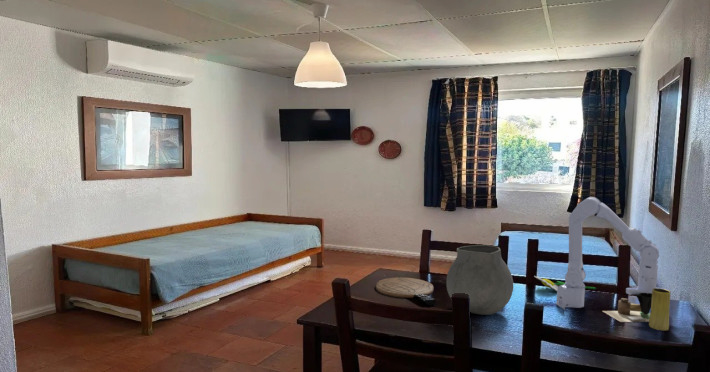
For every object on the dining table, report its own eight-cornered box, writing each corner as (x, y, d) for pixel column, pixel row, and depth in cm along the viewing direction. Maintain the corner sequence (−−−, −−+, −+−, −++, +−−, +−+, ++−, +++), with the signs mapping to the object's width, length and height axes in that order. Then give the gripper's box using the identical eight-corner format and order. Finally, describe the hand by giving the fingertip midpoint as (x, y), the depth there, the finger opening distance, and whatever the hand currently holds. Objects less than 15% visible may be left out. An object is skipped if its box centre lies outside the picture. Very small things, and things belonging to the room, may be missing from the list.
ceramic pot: (467, 297, 195) (470, 238, 193) (523, 312, 178) (526, 247, 175) (432, 310, 178) (435, 246, 176) (490, 329, 160) (493, 257, 158)
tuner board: (620, 325, 167) (620, 319, 166) (601, 314, 178) (602, 308, 177) (662, 324, 168) (663, 319, 168) (641, 313, 179) (642, 308, 179)
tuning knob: (619, 313, 174) (620, 300, 174) (616, 310, 178) (617, 297, 178) (648, 316, 172) (649, 302, 171) (644, 313, 175) (645, 299, 175)
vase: (644, 327, 165) (646, 287, 164) (660, 327, 166) (663, 287, 164) (656, 334, 159) (659, 293, 158) (673, 333, 159) (676, 293, 158)
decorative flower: (584, 289, 217) (526, 283, 211) (587, 279, 216) (528, 272, 211) (603, 299, 205) (542, 293, 199) (606, 289, 204) (544, 282, 198)
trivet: (402, 278, 222) (402, 274, 222) (445, 290, 204) (445, 286, 204) (364, 288, 205) (364, 284, 205) (407, 303, 187) (407, 298, 187)
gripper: (636, 280, 166) (633, 317, 167) (674, 279, 167) (671, 316, 168) (623, 274, 173) (620, 310, 174) (660, 274, 174) (657, 310, 175)
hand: (644, 313), depth 171 cm, fingers closed
